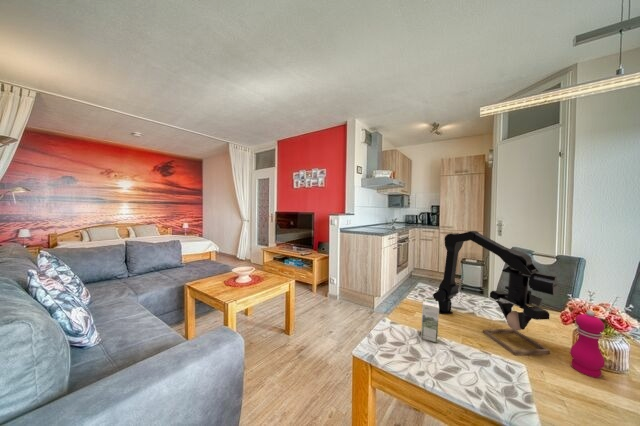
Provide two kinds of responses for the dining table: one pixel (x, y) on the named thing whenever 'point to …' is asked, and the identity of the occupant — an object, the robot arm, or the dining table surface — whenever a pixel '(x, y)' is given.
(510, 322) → the egg
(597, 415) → the dining table surface
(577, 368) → the pepper mill
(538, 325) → the dining table surface
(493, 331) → the walnut frame
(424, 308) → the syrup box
